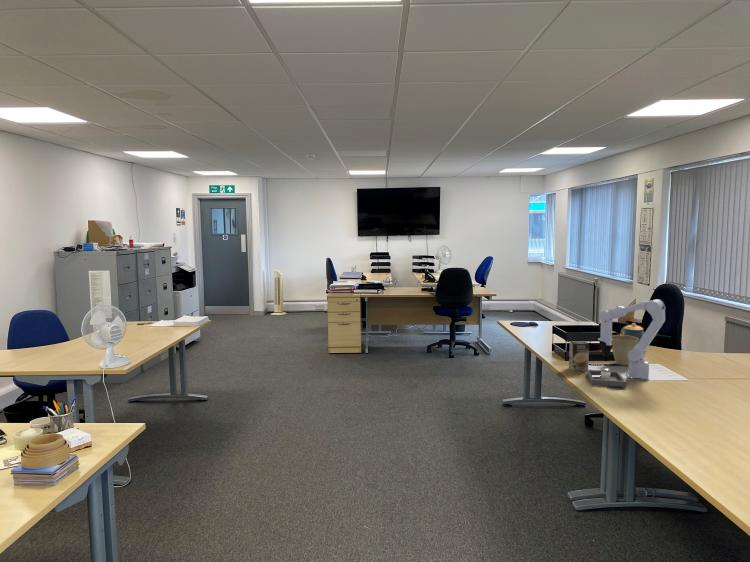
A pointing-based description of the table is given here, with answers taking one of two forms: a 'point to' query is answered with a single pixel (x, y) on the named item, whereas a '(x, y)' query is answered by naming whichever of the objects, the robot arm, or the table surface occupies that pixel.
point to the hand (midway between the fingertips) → (605, 354)
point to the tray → (614, 381)
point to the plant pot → (623, 347)
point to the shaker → (605, 374)
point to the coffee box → (578, 355)
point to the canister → (634, 331)
